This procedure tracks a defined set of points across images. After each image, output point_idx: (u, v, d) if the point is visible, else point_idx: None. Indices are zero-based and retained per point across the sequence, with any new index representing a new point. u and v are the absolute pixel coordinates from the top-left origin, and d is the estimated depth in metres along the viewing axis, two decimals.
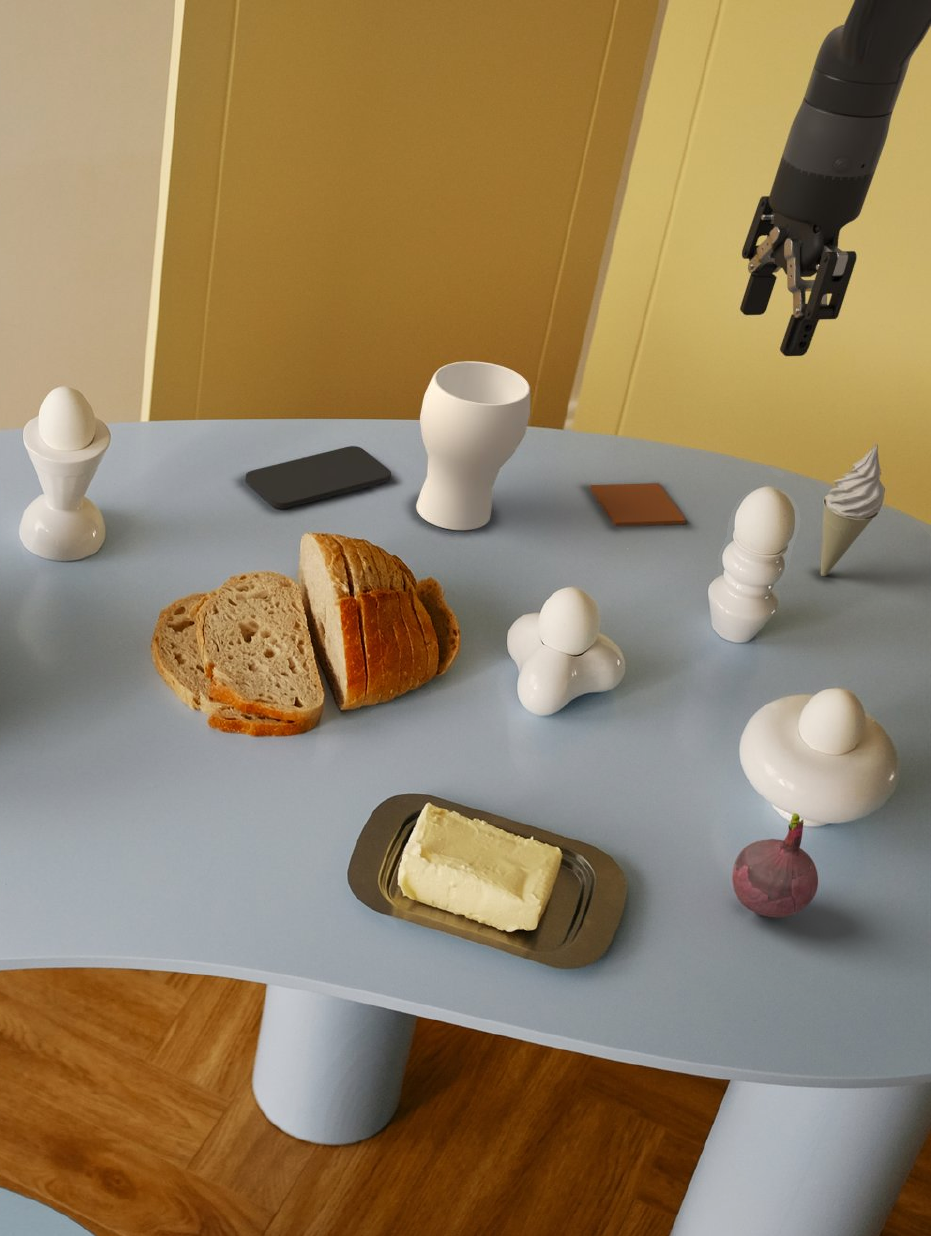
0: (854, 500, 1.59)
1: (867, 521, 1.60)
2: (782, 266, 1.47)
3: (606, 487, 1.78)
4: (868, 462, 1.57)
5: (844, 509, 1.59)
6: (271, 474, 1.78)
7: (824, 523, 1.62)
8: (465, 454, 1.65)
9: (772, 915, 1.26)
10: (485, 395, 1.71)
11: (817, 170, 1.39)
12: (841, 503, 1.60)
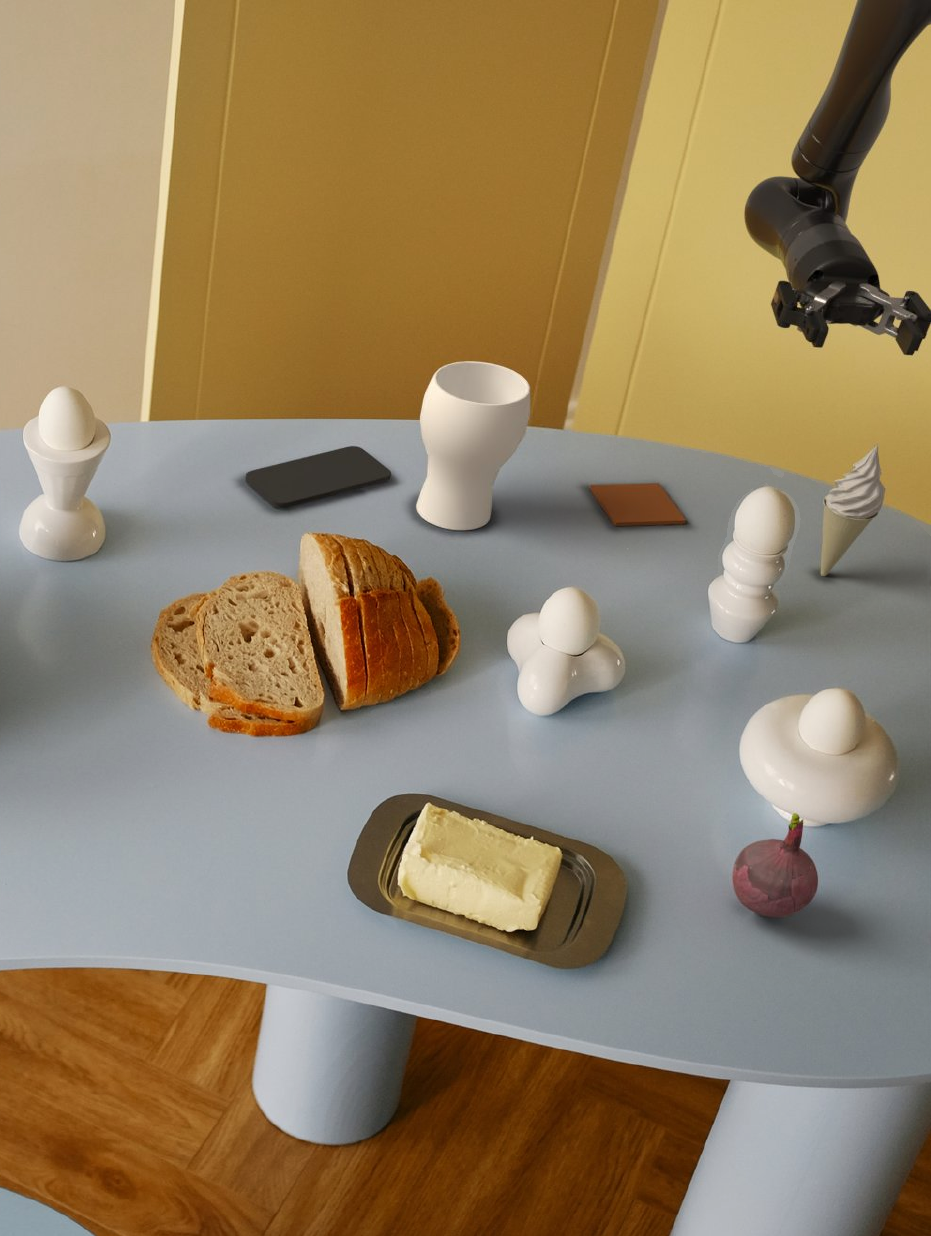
0: (854, 500, 1.59)
1: (867, 521, 1.60)
2: (848, 323, 1.67)
3: (606, 487, 1.78)
4: (868, 462, 1.57)
5: (844, 509, 1.59)
6: (271, 474, 1.78)
7: (824, 523, 1.62)
8: (465, 454, 1.65)
9: (772, 915, 1.26)
10: (485, 395, 1.71)
11: None
12: (841, 503, 1.60)
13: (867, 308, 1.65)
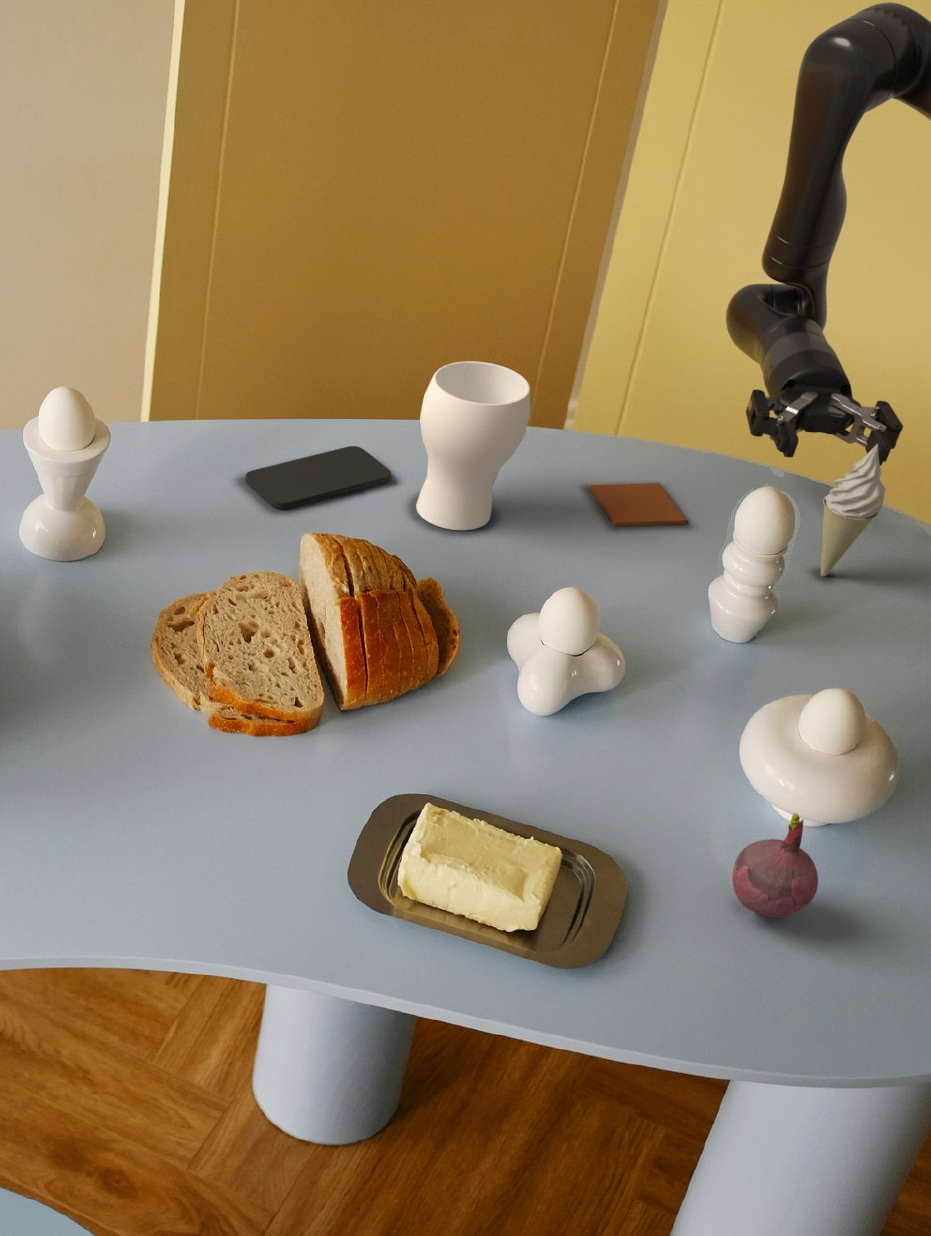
0: (854, 500, 1.59)
1: (867, 521, 1.60)
2: None
3: (606, 487, 1.78)
4: (868, 462, 1.57)
5: (844, 509, 1.59)
6: (271, 474, 1.78)
7: (824, 523, 1.62)
8: (465, 454, 1.65)
9: (772, 915, 1.26)
10: (485, 395, 1.71)
11: None
12: (841, 503, 1.60)
13: (838, 418, 1.70)
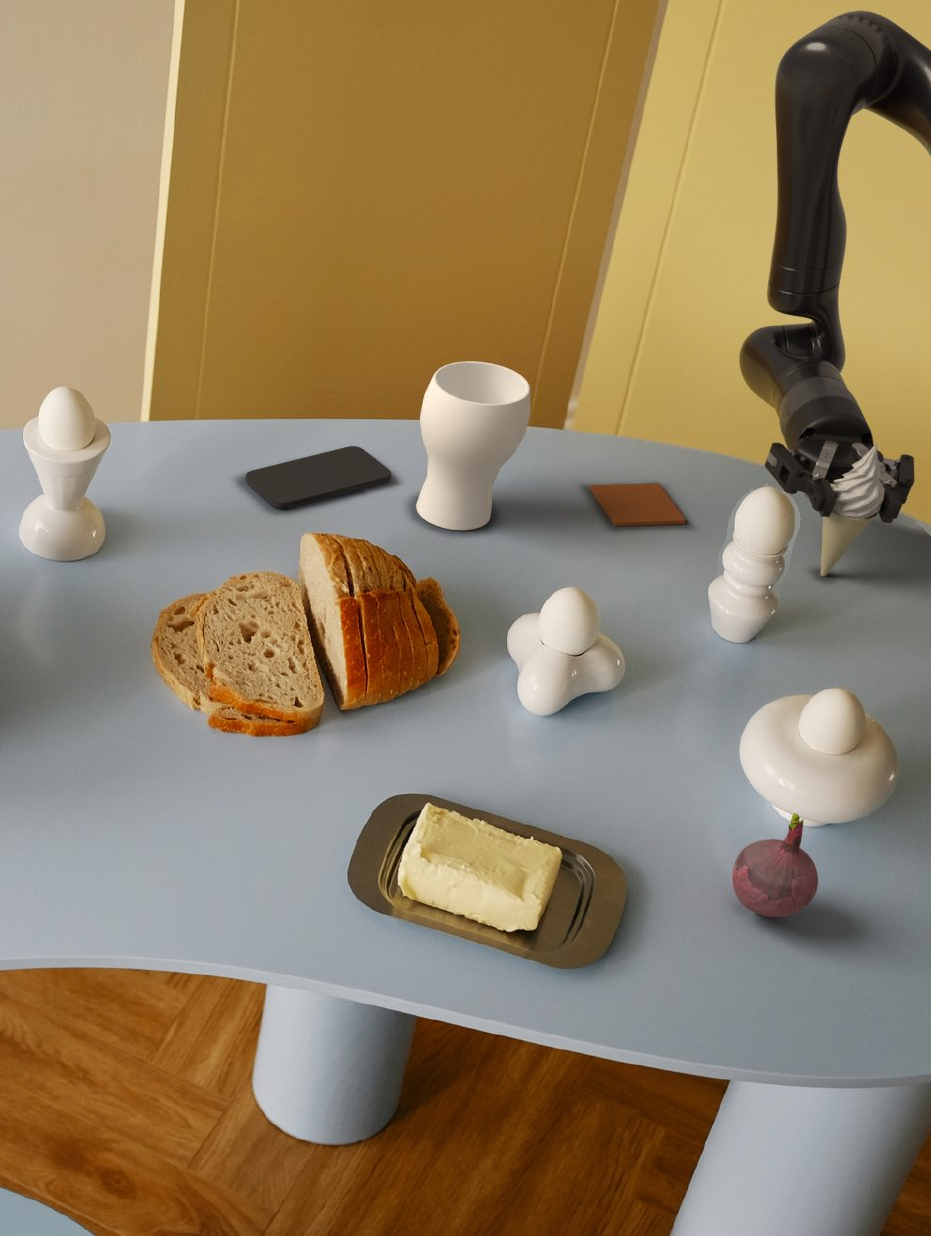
0: (854, 500, 1.58)
1: (867, 521, 1.59)
2: None
3: (606, 487, 1.78)
4: (868, 462, 1.57)
5: (844, 509, 1.59)
6: (271, 474, 1.78)
7: (824, 523, 1.62)
8: (465, 454, 1.65)
9: (772, 915, 1.26)
10: (485, 395, 1.71)
11: None
12: (841, 503, 1.60)
13: None
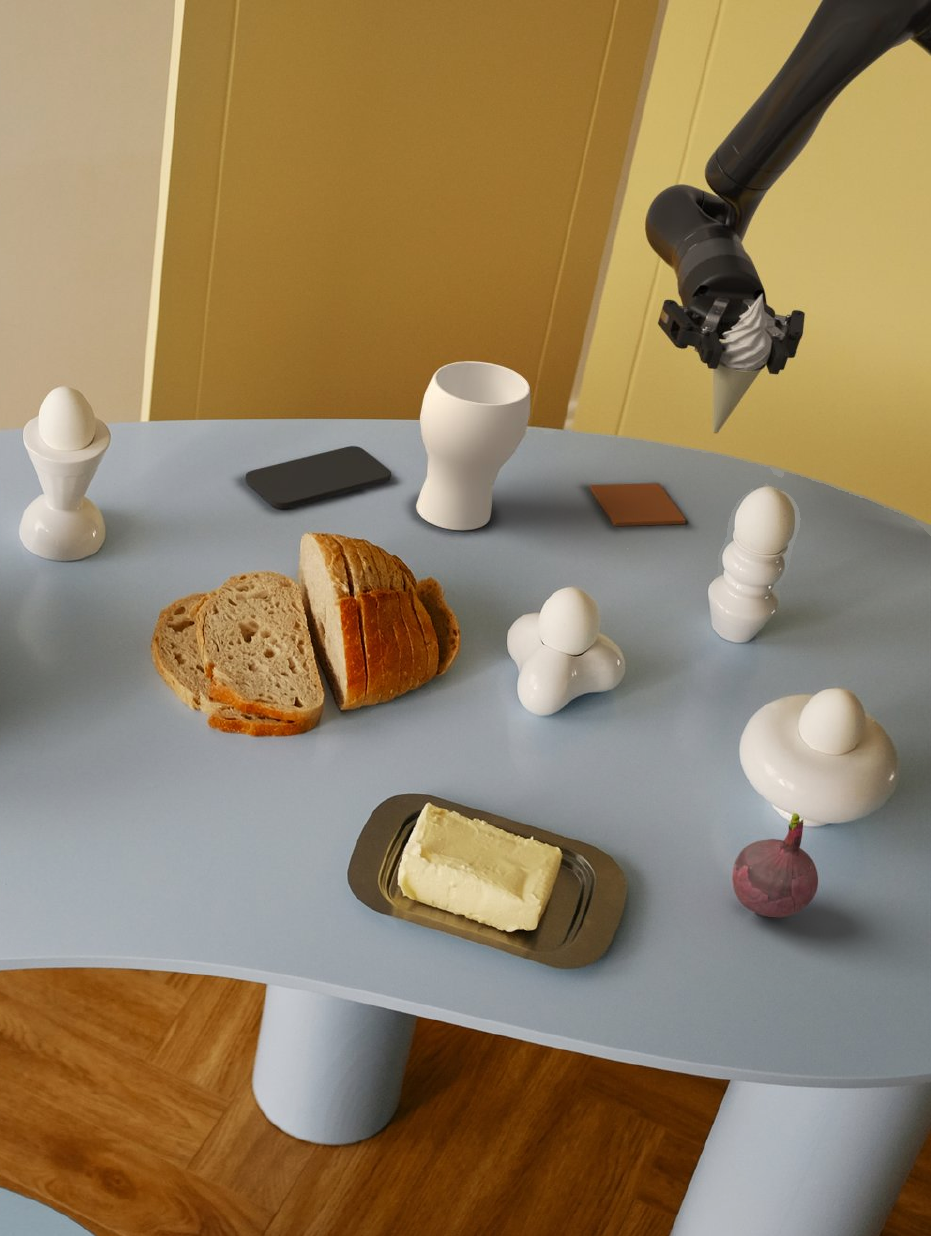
0: (741, 352, 1.59)
1: (754, 373, 1.60)
2: None
3: (606, 487, 1.78)
4: (754, 313, 1.57)
5: (731, 361, 1.59)
6: (271, 474, 1.78)
7: (713, 378, 1.62)
8: (465, 454, 1.65)
9: (772, 915, 1.26)
10: (485, 395, 1.71)
11: None
12: (728, 356, 1.60)
13: None
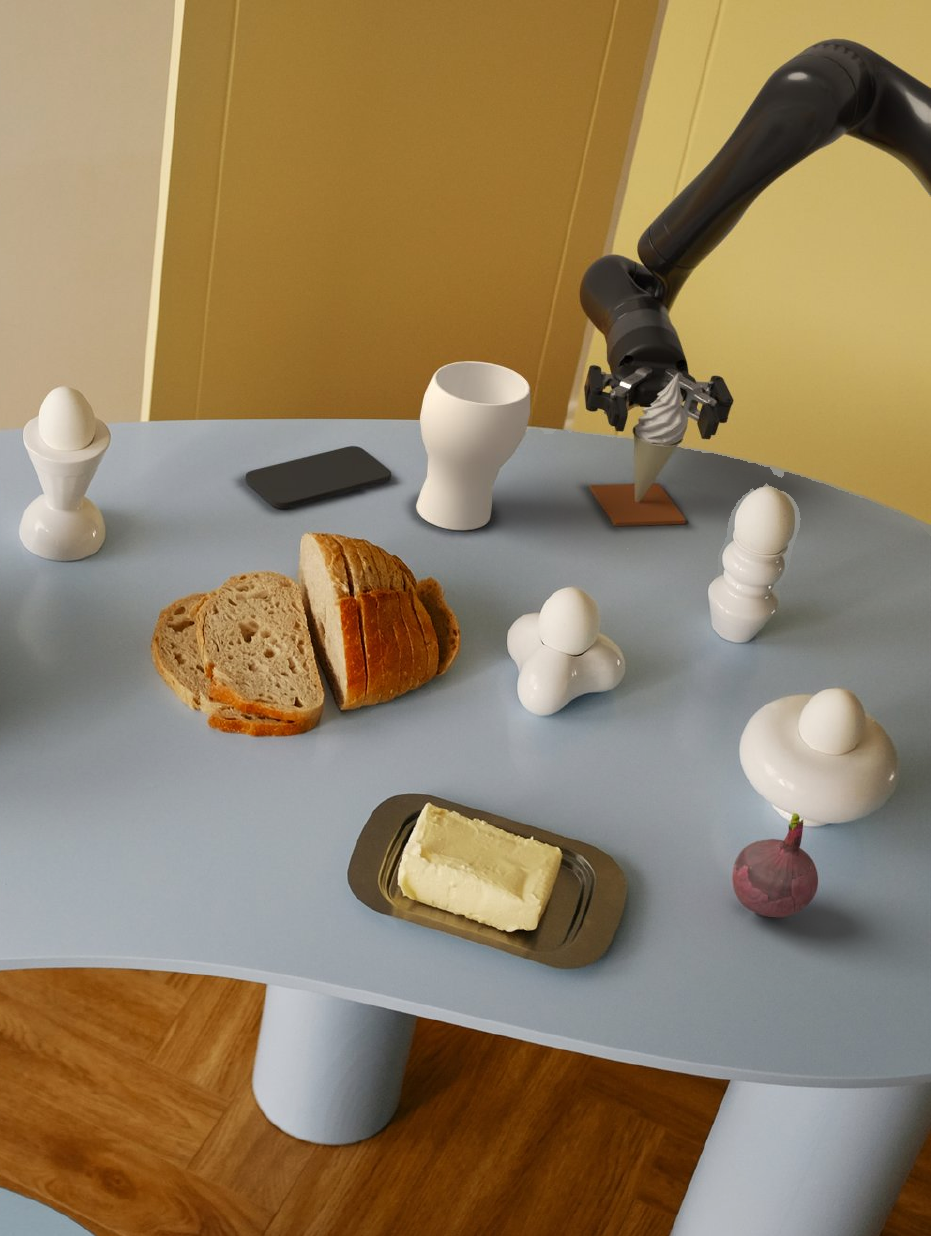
0: (658, 427, 1.68)
1: (672, 448, 1.69)
2: None
3: (606, 487, 1.78)
4: (670, 391, 1.67)
5: (649, 436, 1.69)
6: (271, 474, 1.78)
7: (634, 451, 1.72)
8: (465, 454, 1.65)
9: (772, 915, 1.26)
10: (485, 395, 1.71)
11: None
12: (647, 431, 1.69)
13: None
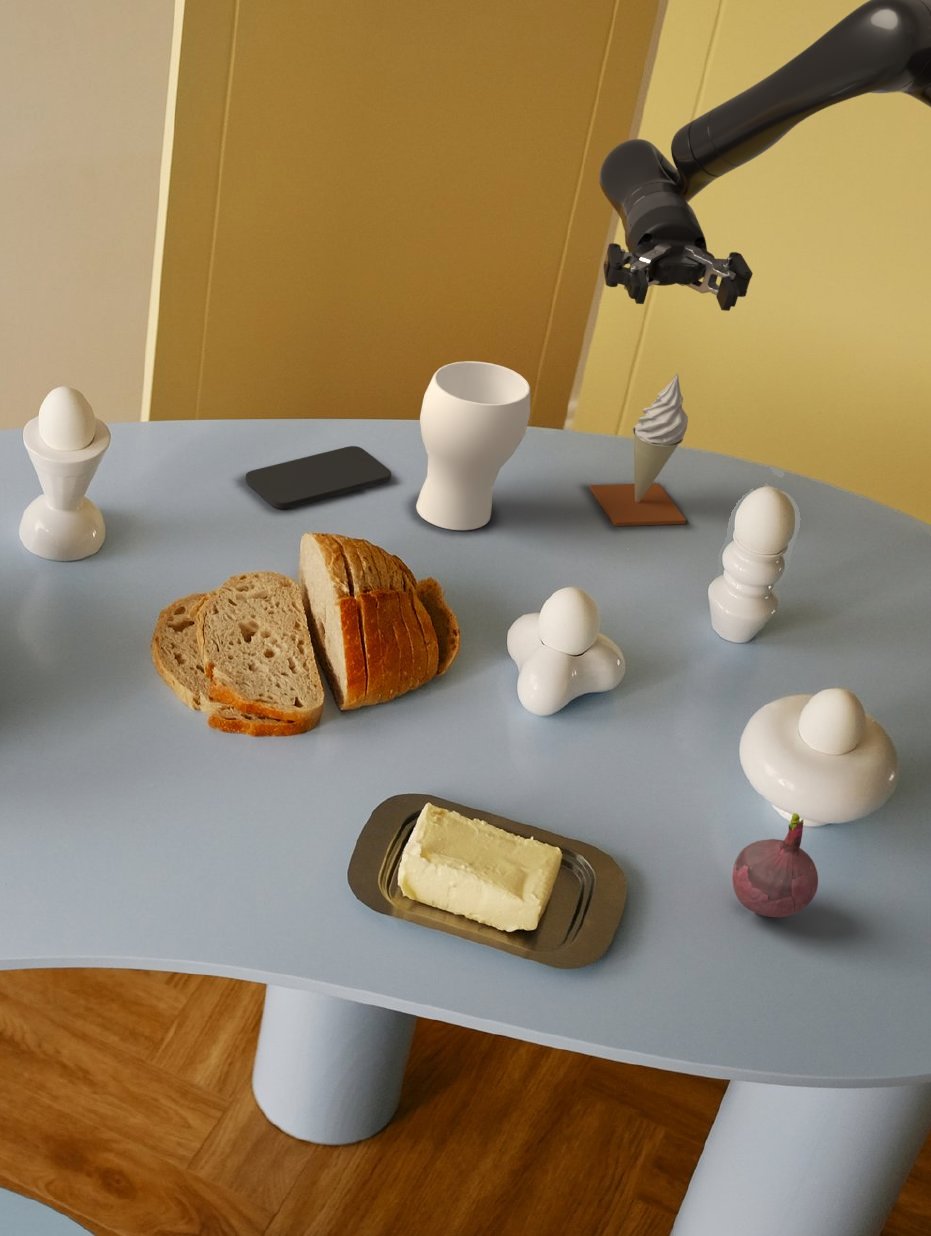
0: (658, 427, 1.68)
1: (672, 448, 1.69)
2: (674, 282, 1.75)
3: (606, 487, 1.78)
4: (670, 391, 1.67)
5: (649, 436, 1.69)
6: (271, 474, 1.78)
7: (634, 451, 1.72)
8: (465, 454, 1.65)
9: (772, 915, 1.26)
10: (485, 395, 1.71)
11: None
12: (647, 431, 1.69)
13: (690, 268, 1.73)
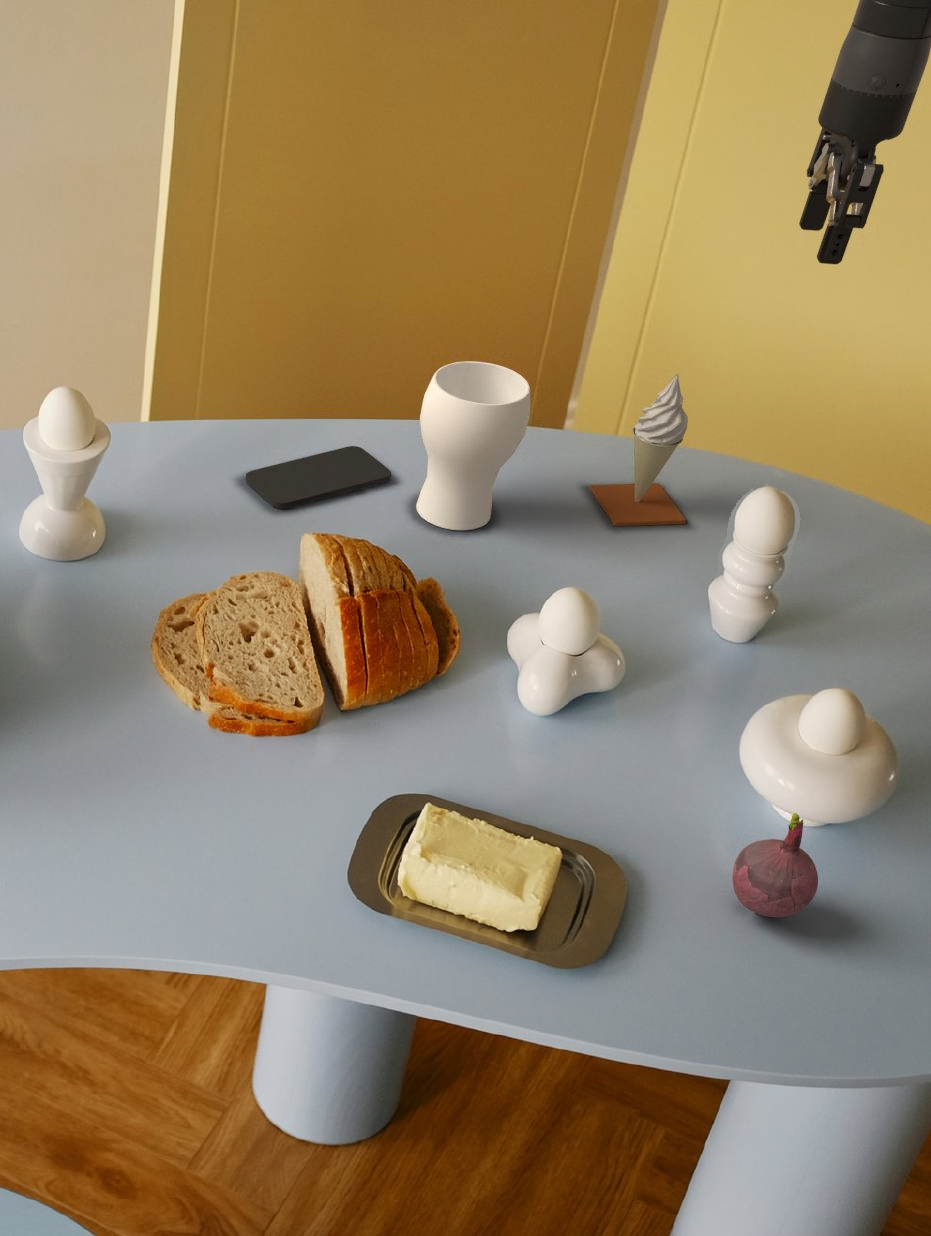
0: (658, 427, 1.68)
1: (672, 448, 1.69)
2: (829, 180, 1.61)
3: (606, 487, 1.78)
4: (670, 391, 1.67)
5: (649, 436, 1.69)
6: (271, 474, 1.78)
7: (634, 451, 1.72)
8: (465, 454, 1.65)
9: (772, 915, 1.26)
10: (485, 395, 1.71)
11: (855, 87, 1.52)
12: (647, 431, 1.69)
13: None
